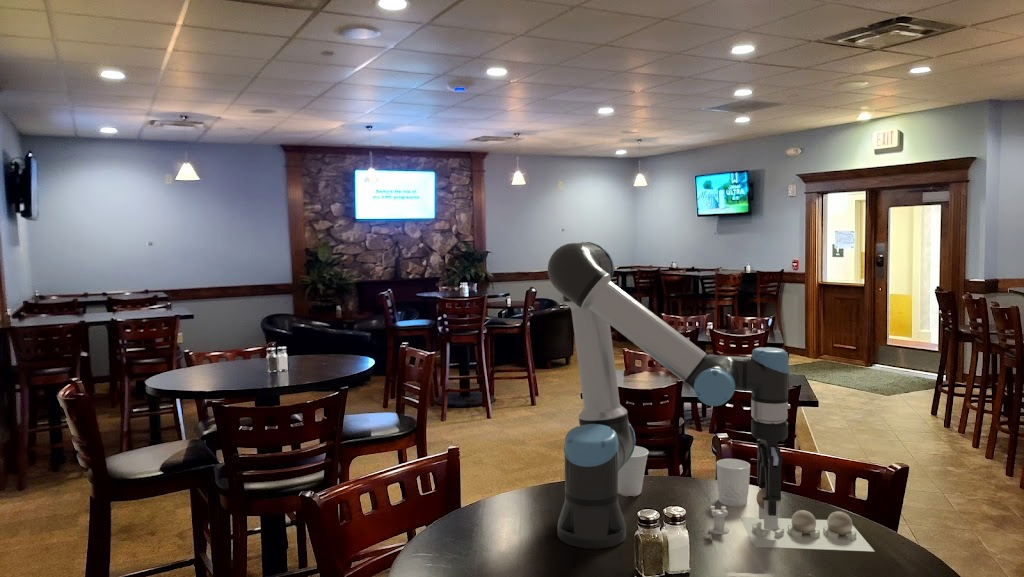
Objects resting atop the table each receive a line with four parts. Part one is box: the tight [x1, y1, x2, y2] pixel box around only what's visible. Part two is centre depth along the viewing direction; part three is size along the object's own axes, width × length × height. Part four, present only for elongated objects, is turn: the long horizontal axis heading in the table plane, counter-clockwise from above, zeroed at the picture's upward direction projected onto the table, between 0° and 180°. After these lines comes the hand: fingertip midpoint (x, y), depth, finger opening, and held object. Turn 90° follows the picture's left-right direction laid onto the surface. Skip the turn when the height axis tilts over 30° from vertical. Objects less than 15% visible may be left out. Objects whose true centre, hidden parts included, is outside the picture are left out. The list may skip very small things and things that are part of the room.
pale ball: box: [826, 510, 854, 535], centre depth 158 cm, size 5×5×5 cm
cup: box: [618, 445, 649, 497], centre depth 186 cm, size 10×10×11 cm
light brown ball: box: [756, 488, 781, 510], centre depth 159 cm, size 5×5×5 cm
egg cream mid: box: [791, 509, 817, 534], centre depth 159 cm, size 5×5×5 cm
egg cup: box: [708, 505, 730, 535], centre depth 161 cm, size 4×4×5 cm
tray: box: [740, 516, 876, 553], centre depth 159 cm, size 24×16×2 cm, turn 83°
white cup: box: [716, 458, 751, 507], centre depth 178 cm, size 8×8×10 cm
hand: (768, 523), depth 160 cm, fingers closed on light brown ball, 5 cm apart
